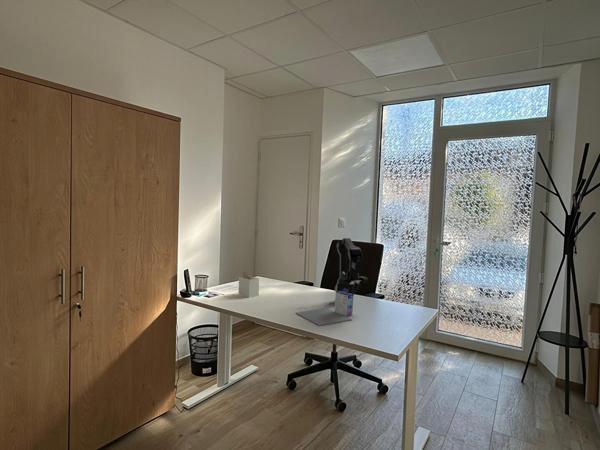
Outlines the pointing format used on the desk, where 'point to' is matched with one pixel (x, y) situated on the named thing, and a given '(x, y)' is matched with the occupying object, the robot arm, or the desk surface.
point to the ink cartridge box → (344, 303)
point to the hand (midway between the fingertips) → (352, 294)
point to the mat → (323, 316)
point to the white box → (248, 286)
